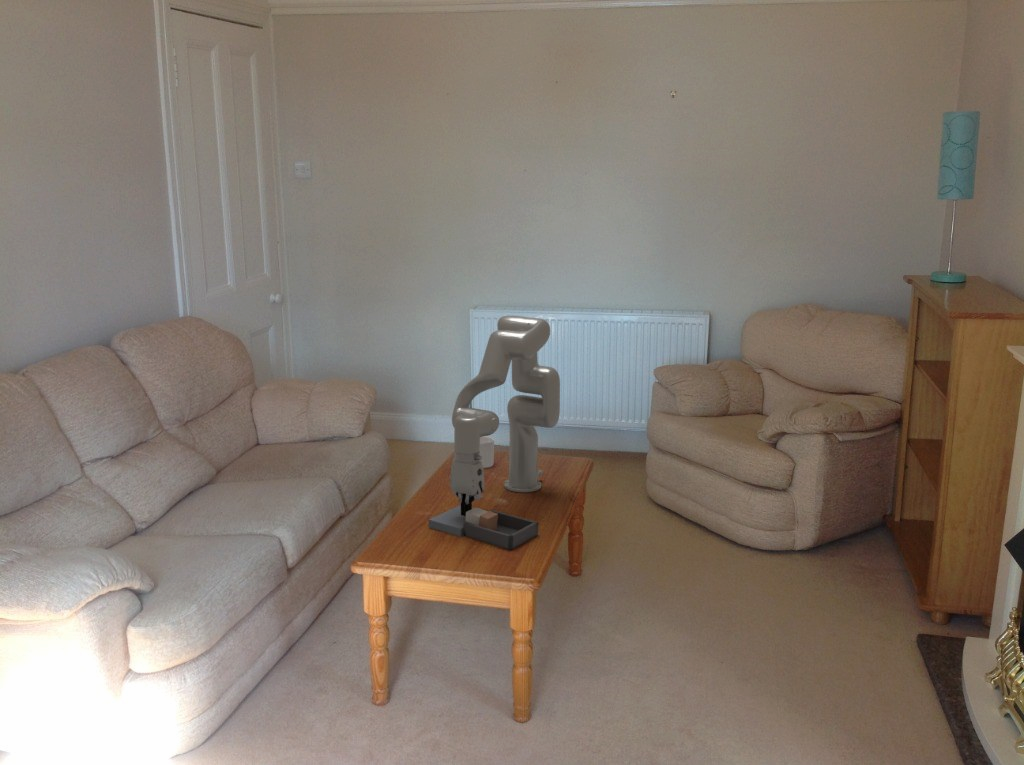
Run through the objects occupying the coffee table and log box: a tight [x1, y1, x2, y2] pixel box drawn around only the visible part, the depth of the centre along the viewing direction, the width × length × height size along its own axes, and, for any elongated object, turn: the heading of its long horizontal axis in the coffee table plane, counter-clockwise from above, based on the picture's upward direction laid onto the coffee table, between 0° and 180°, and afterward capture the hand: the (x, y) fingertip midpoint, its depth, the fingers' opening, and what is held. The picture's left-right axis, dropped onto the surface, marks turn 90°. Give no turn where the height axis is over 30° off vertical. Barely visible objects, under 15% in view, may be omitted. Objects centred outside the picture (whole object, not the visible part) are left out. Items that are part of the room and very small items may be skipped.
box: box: [462, 509, 539, 551], centre depth 283 cm, size 14×17×4 cm
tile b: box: [479, 510, 498, 530], centre depth 285 cm, size 5×5×3 cm
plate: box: [428, 504, 474, 537], centre depth 292 cm, size 16×12×2 cm
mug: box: [479, 436, 495, 469], centre depth 349 cm, size 12×9×9 cm
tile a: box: [465, 506, 489, 526], centre depth 287 cm, size 5×5×3 cm
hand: (466, 514), depth 290 cm, fingers closed
